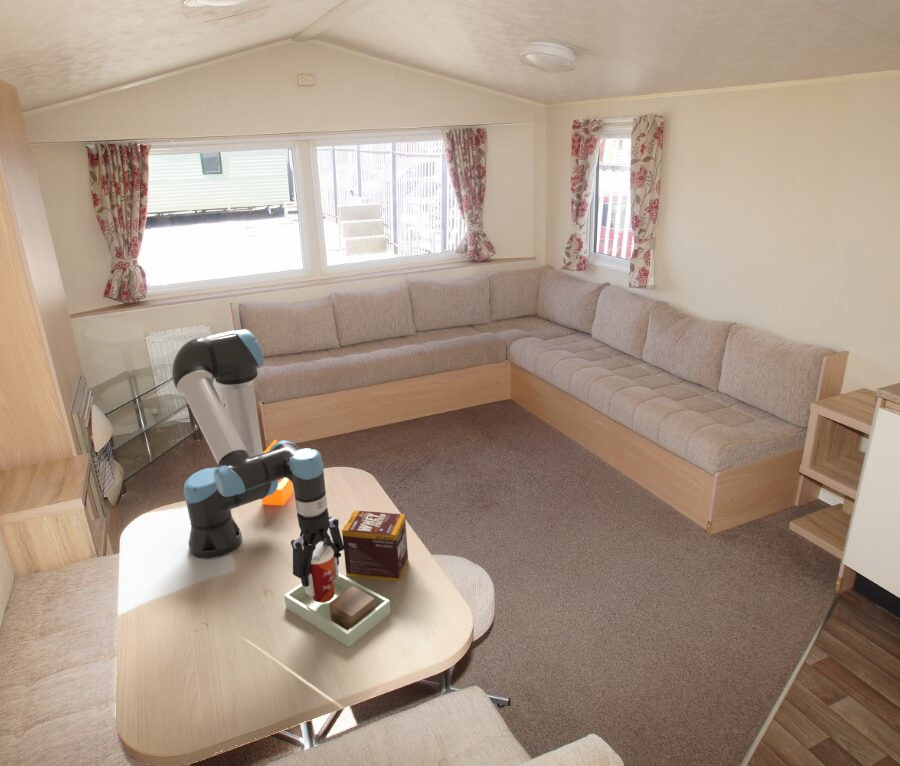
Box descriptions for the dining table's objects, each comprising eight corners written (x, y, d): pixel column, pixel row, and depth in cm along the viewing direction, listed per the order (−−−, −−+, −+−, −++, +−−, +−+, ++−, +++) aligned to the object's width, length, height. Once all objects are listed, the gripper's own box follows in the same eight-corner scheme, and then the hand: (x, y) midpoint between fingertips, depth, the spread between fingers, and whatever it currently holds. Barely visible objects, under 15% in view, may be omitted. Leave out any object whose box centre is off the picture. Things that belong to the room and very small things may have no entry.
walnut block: (331, 622, 166) (329, 603, 164) (354, 604, 172) (352, 586, 170) (353, 635, 161) (351, 616, 159) (376, 617, 167) (374, 598, 165)
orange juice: (261, 504, 221) (253, 450, 214) (272, 490, 229) (264, 438, 222) (284, 505, 220) (275, 451, 213) (294, 491, 228) (286, 439, 221)
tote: (286, 609, 172) (284, 595, 170) (328, 580, 183) (326, 566, 181) (349, 649, 158) (347, 634, 157) (391, 614, 169) (389, 600, 167)
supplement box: (399, 583, 180) (395, 535, 175) (346, 578, 183) (340, 530, 178) (409, 560, 190) (406, 513, 184) (358, 555, 193) (353, 509, 187)
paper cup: (335, 605, 169) (330, 559, 164) (305, 605, 169) (299, 560, 164) (341, 585, 176) (336, 540, 171) (312, 585, 176) (306, 541, 171)
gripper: (289, 534, 153) (300, 613, 162) (353, 496, 168) (361, 570, 176) (268, 524, 158) (281, 601, 166) (333, 487, 172) (341, 560, 181)
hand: (322, 585), depth 171 cm, fingers closed on paper cup, 8 cm apart
